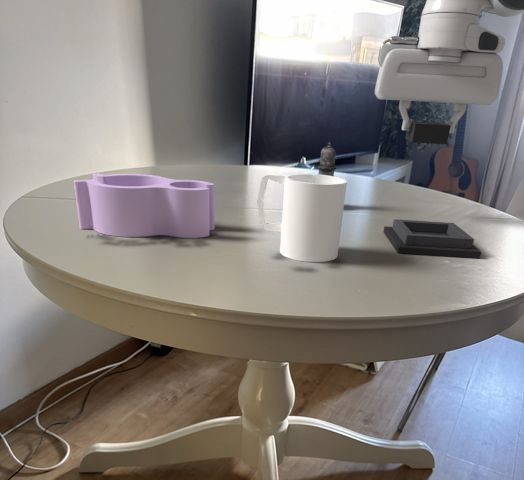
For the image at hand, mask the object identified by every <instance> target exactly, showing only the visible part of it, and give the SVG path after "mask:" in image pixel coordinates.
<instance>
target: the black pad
mask: <svg viewBox="0 0 524 480" xmlns="http://www.w3.org/2000/svg"><path fill="white" fill-rule="evenodd" d="M450 127H451V125H447V124H445V123H443V122H442V123H441V122H428V121H427V122H426V121H413V125H412V130H411V131H406V132H405V138H404V139H405V140H406V141H408V142H410V143H415V144H430V145H431V144H432V145H433V144H434V145H448V141H449V137H450V133H449V132H450Z"/></svg>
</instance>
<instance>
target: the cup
mask: <svg viewBox="0 0 524 480" xmlns="http://www.w3.org/2000/svg"><path fill="white" fill-rule="evenodd" d="M269 180H270V181H274V182H275V183H278V184H280V185H283V199H282V200H283V202H282V213H281V214H282V216H281V222H280V221H279V222H268V223H267V219H266V218H267V217H266V211H265V203H264V200H265V195H266V191H267V186H268V183H269ZM347 185H348V180H347V179H345V178H342V177H338V176H335V175H334V176H328V175H318V174H317V173H293V174H288V175H283V174H271V173H268V174H266V175H264V176H262V177H261V180H260V185H259V190H258V195H257V199H256V203H257V212H258V218H259V224H260V225H261V227H262V228H263V230H264V231H268V232H276V233H280V244H279V253H280V254H281V255H282V256H283V257H285V258H287V259H290V260H294V261H299V262H306V263H325V262H330V261H334V260H335V259H337V258H338V255H339V247H340V240H341V232H342V224H343V217H344V216H343V215H344V208H345V199H346V193H347Z"/></svg>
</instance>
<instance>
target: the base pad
mask: <svg viewBox="0 0 524 480" xmlns="http://www.w3.org/2000/svg"><path fill="white" fill-rule="evenodd" d="M392 221H393V222H392V226H384V227H383V234H384V235H385V237H386V238H387V240H388V241H389V242H390V244H391V245H392V247H393V248H394V250H395V252H396V253H397V254H400V255H401V254H403V255H417V256H433V257H434V256H435V257H450V258H451V257H453V258H464V259H465V258H468V259H481V256H482V253H483V252H482V251H481V249H479V248H477V246H476V245H474V242H475V238H474V237H472V235H470V234H469V233H467V232H466V231H464V230H463V229H462V228H461V227H459V226H458V225H457V224H455V223H454V222H447V221H446V222H444V221H427V220H412V219H393V220H392Z"/></svg>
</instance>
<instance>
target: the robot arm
mask: <svg viewBox="0 0 524 480" xmlns="http://www.w3.org/2000/svg"><path fill="white" fill-rule="evenodd" d="M481 12H485V13H488V14H492V15H496V16H498V17H502V18H509V17H510V18H511V17H516V16H518V15H521V14H523V13H524V0H426V1H425V4H424V7H423V9H422V12H421V16H420V23H419V29H418V33H417V36H398V35H391V36H390V38H388V39H386V40H384V41H383V42H382V43H381V44H380V47H379V51H378V57H377V61H378V64H379V70H378V74H377V78H376V82H375V87H374V95H375V97H376V99H378V100H387V101H399V104H398V109H399V113H400V115H401V119H402V125H401V130H402V131H411V130H412V125H413V122H415V120H414V119H412V118H409V114H408V111H407V109H410V107H411V102H422V103H423V102H425V103H444V104H454V107H453V111H455V113H454V115H452V117H451V118H450V120H444V124H447V125H451V127H450V132H449V134H454V132H455V129H456V125H457V122H458V121H459V120H460V119H461V118H462V116H463V115H464V114H465V113H466V110H467V107H468V105H478V106H479V105H481V106H491V105H493V104H494V103H495V102H496V101H497V99H498V97H499V94H500V90H501V86H502V85H501V84H502V78H503V70H504V61H503V59H502V57H501V55H500V54H498V53H501V52H502V51H503V50H504V47H505V44H506V38H505V37H504V36H502V35H500V34H498V33H496V32H494V31H492V30H489V29H488V28H485V27H483V26H481V25H479V19H480V14H481Z"/></svg>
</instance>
